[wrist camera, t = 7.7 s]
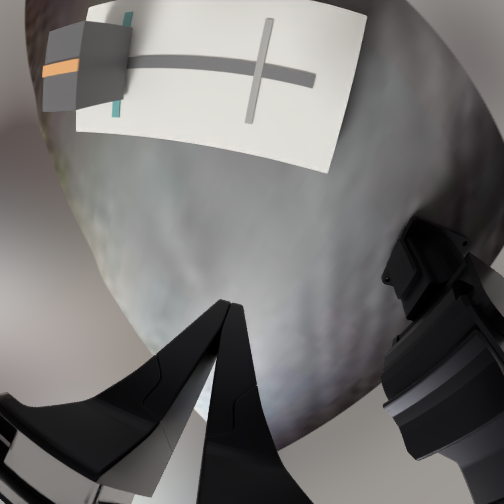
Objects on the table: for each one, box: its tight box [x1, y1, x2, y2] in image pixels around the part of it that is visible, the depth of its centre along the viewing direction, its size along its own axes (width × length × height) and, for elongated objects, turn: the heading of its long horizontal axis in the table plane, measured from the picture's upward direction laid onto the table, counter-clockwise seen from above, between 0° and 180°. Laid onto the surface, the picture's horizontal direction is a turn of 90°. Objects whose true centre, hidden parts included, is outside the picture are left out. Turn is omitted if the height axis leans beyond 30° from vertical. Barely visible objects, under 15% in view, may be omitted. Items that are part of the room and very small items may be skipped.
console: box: [76, 0, 367, 173], centre depth 14 cm, size 18×10×3 cm, turn 80°
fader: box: [42, 21, 133, 112], centre depth 11 cm, size 3×5×5 cm, turn 170°
